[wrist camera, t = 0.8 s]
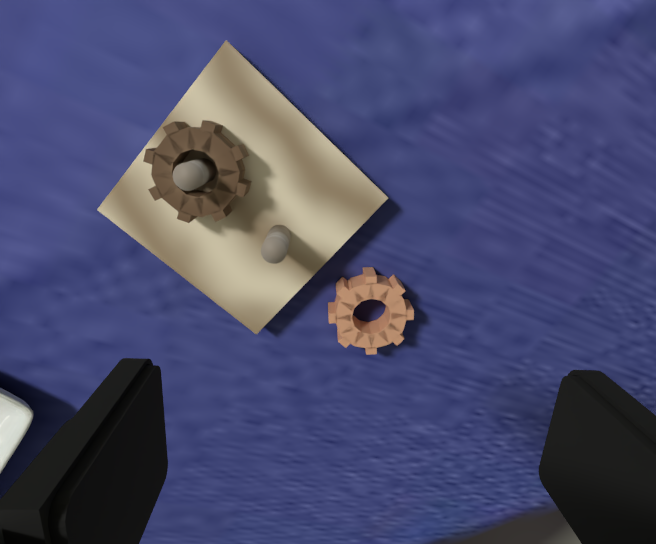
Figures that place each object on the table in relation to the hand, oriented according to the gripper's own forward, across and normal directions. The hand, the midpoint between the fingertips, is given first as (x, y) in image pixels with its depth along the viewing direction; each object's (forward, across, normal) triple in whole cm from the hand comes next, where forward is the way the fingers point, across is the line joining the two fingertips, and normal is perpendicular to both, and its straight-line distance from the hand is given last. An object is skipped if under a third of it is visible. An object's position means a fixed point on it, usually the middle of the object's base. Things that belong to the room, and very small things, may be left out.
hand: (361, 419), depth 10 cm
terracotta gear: (+27, -4, +8) cm, 28 cm away
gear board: (+27, +6, -1) cm, 28 cm away
